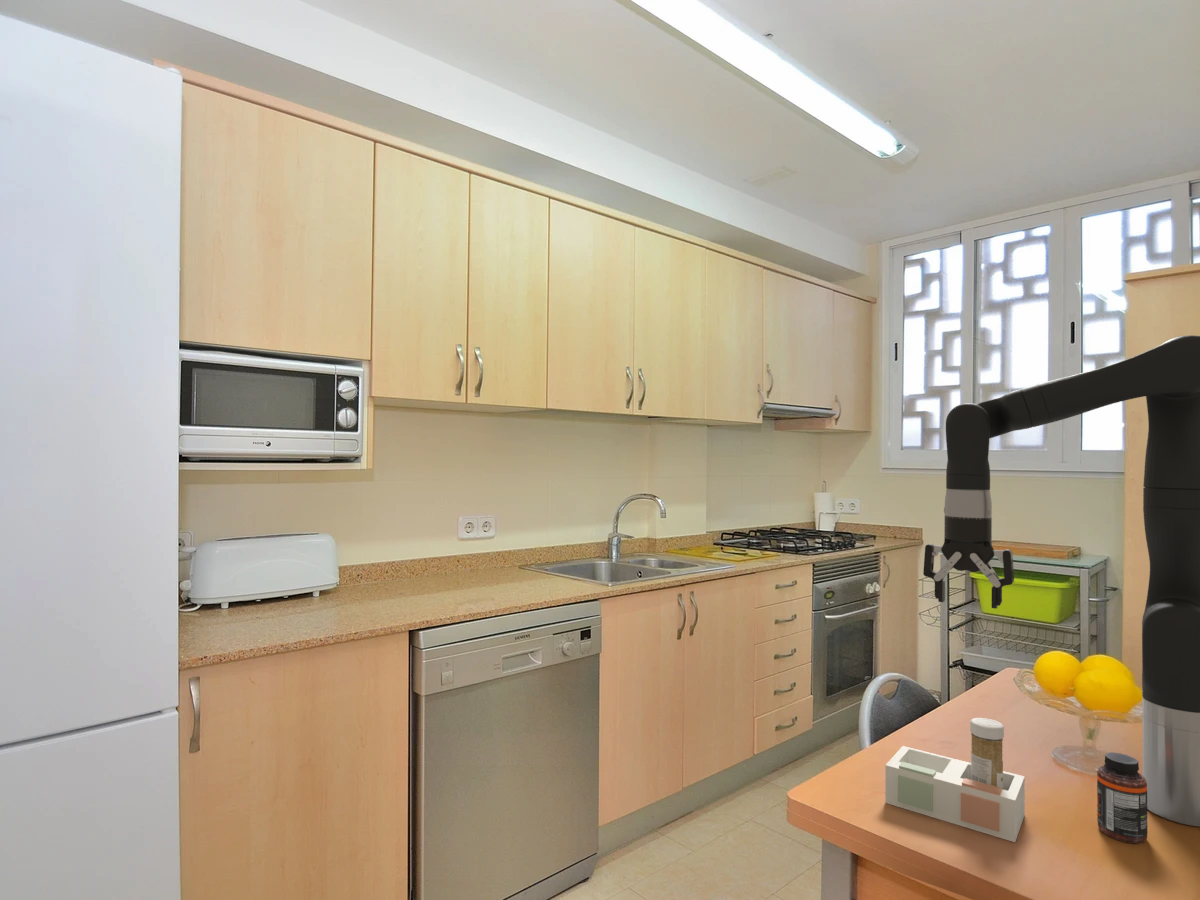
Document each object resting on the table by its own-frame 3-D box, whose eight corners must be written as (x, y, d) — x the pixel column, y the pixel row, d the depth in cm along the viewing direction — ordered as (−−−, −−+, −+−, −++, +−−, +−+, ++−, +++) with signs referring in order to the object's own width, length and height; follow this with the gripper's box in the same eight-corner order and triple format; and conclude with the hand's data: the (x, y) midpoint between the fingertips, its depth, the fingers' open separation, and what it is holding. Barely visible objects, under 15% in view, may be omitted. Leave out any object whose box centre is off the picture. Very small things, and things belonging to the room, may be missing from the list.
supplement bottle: (1098, 819, 106) (1098, 745, 106) (1147, 833, 102) (1147, 756, 102) (1095, 835, 101) (1095, 758, 102) (1147, 850, 98) (1147, 769, 98)
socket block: (1024, 815, 107) (1024, 773, 107) (1014, 843, 99) (1014, 798, 99) (902, 781, 118) (902, 743, 118) (884, 803, 110) (884, 763, 110)
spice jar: (1010, 815, 105) (1010, 726, 105) (983, 817, 104) (983, 727, 104) (990, 801, 109) (990, 716, 109) (963, 802, 109) (963, 717, 109)
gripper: (1016, 515, 123) (1015, 606, 122) (929, 511, 131) (929, 596, 131) (1010, 518, 117) (1010, 613, 116) (920, 513, 125) (919, 602, 125)
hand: (967, 604), depth 124 cm, fingers open, 8 cm apart
